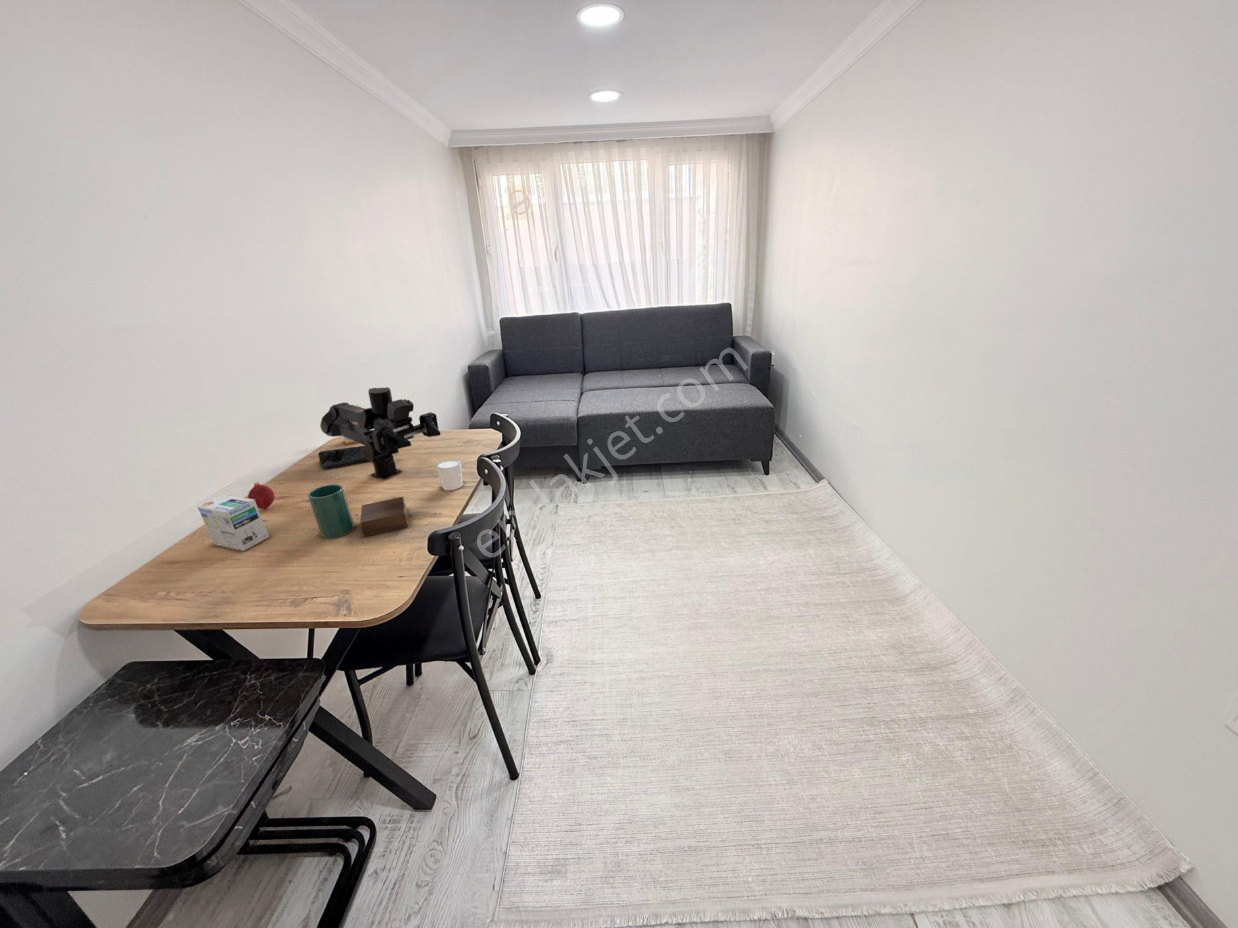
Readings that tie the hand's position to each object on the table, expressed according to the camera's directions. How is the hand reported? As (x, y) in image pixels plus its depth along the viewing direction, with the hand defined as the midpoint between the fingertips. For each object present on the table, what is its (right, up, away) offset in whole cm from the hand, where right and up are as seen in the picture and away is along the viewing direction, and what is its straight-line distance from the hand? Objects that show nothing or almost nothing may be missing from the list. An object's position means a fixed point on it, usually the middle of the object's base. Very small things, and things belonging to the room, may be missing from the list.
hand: (425, 438), depth 134 cm
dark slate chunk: (-37, -5, +35) cm, 51 cm away
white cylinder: (+4, -13, +10) cm, 17 cm away
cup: (-18, -23, -11) cm, 31 cm away
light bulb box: (-39, -26, -14) cm, 49 cm away
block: (-7, -22, -8) cm, 24 cm away
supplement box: (-45, +2, +50) cm, 68 cm away
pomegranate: (-45, -19, +2) cm, 49 cm away
